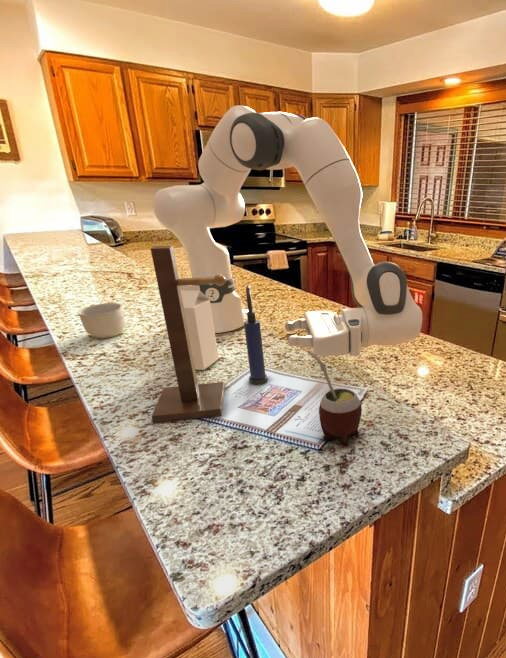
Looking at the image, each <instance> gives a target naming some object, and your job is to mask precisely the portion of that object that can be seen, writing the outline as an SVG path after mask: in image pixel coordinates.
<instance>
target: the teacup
mask: <svg viewBox="0 0 506 658" xmlns="http://www.w3.org/2000/svg"><path fill="white" fill-rule="evenodd" d="M77 315H78V316H79V318H80V322H81V325H82V326H83V328H84V331H85V332H86V334H87V335H89V336H92V337H94V338H97V339H108V338H112V337H115V336H118V335H120V334H121V333H122V332H123V330H124V329H125V327H126V318H125V314H124V310H123V305H122V303H117V302H105V303H98V304H95V303H93V304H90V305H89V306H87V307H84V308H81V309H80V310H79V311H78V312H77Z"/></svg>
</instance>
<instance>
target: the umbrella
mask: <svg viewBox="0 0 506 658" xmlns="http://www.w3.org/2000/svg"><path fill="white" fill-rule="evenodd" d="M245 295H246V305H247V309H248V312H246V315H247V318H248V320H247V321H245V322H244V326H243V327H244V334H245V341H246V350H247V358H248V359H247V360H248V367H249V376H248V382H249V383H250V384H251V385H257V386H258V385H263V384H266V383H267V382H268V381H269V377H268V374H267V373H266V367H265V366H266V365H265V356H264V347H263V338H262V329H261V321H260V320H259V319H256V312H255V311H254V307H253V298H252V290H251V286H250V285H246V286H245Z"/></svg>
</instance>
